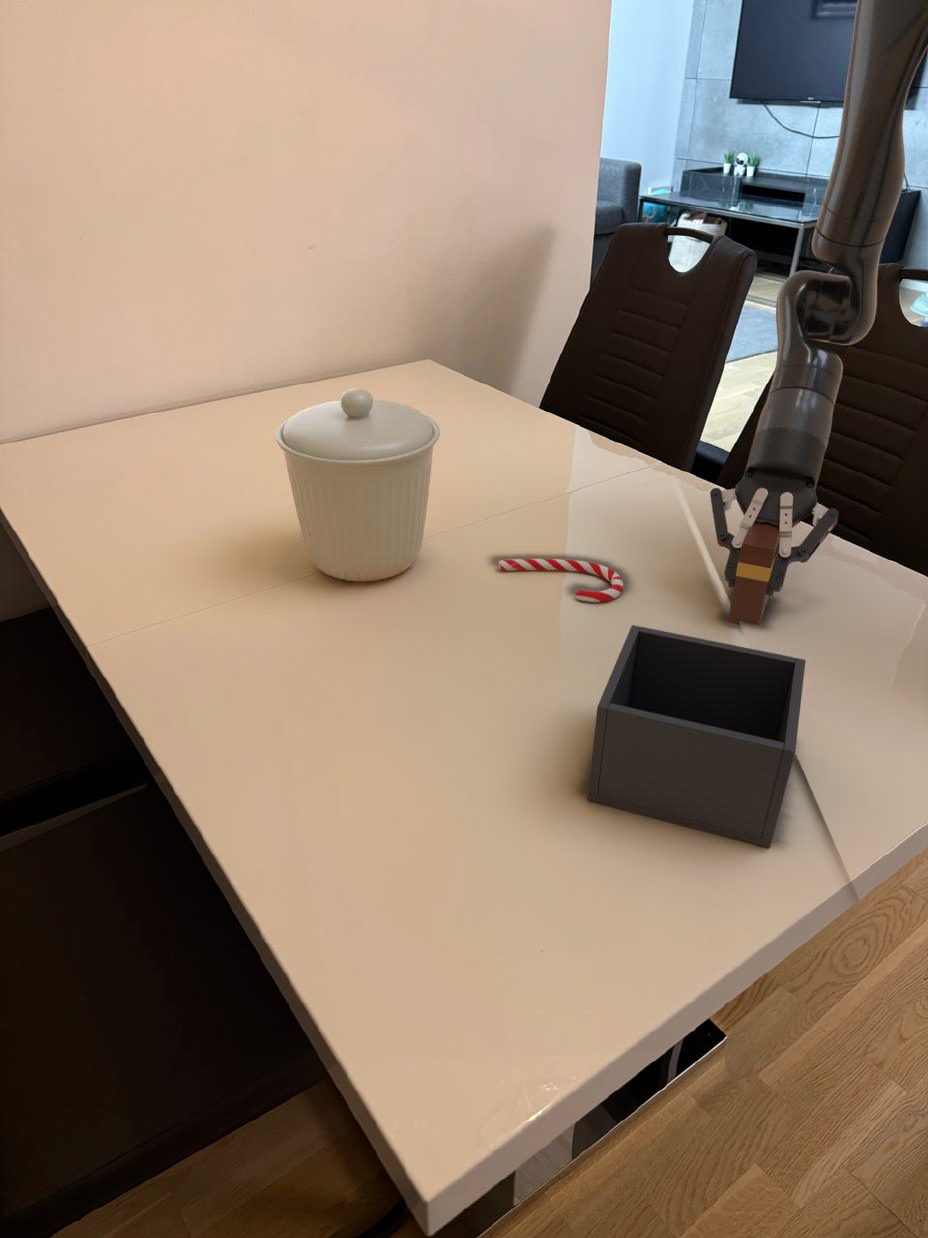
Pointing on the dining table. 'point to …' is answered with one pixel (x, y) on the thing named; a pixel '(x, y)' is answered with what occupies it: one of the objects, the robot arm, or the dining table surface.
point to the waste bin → (697, 734)
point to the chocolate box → (754, 573)
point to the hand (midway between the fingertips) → (751, 588)
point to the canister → (360, 483)
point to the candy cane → (571, 566)
